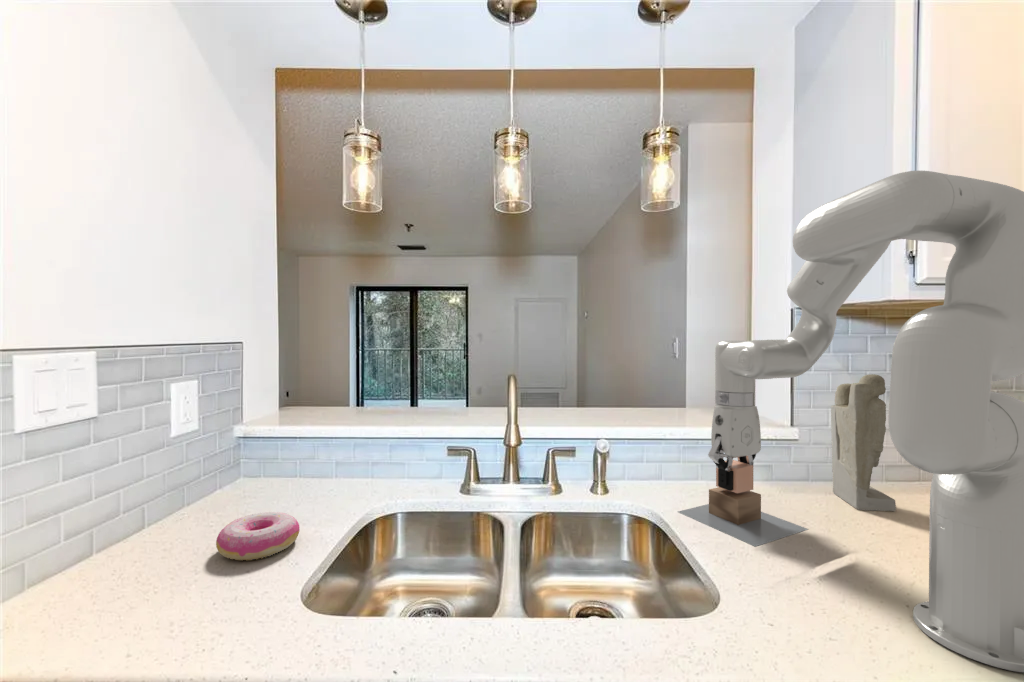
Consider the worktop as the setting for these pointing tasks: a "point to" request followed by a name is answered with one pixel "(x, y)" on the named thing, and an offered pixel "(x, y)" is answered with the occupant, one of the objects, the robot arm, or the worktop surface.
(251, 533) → the donut
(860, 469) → the sculpture
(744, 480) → the terracotta cube
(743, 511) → the walnut base
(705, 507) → the slate board
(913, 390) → the robot arm
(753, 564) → the worktop surface
